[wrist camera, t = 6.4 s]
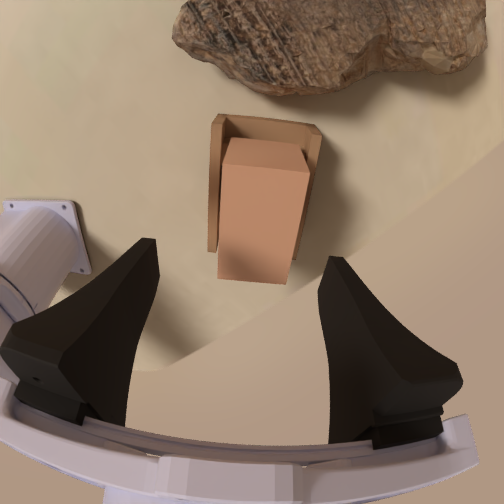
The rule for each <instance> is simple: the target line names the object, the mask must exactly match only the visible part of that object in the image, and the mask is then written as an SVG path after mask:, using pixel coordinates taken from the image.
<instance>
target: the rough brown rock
mask: <svg viewBox="0 0 504 504" xmlns="http://www.w3.org/2000/svg"><path fill="white" fill-rule="evenodd" d="M485 17H486V2H485V0H188V1H187V2H186V3H185V4H184V5H183V6H182V7H181V11H180V13H179V15H178V17H177V18H176V20H175V23H174V25H173V33H172V39H173V41H174V42H175V43H176V45H177V46H178V47H180V48H182V49H183V50H185V51H186V52H187V53H188V54H189V55H190V56H191V57H192V58H195V59H197V60H200V61H202V62H209V63H212V64H215V65H216V66H217V67H219V68H220V69H221V70H223V71H224V72H225V73H226V75H227V76H228V78H229V79H238V80H239V81H240V82H241V83H242V84H244V85H246V86H247V87H249V88H250V89H252V90H253V91H255V92H260V93H265V94H269V95H275V96H283V95H289V94H293V93H296V92H297V93H298V94H299V95H312V94H323V93H330V92H336V91H339V90H340V89H344V88H346V87H347V86H349V85H350V84H351V83H353V82H355V81H358V80H360V79H362V78H365V77H368V76H369V75H371V74H373V73H374V72H378V71H384V72H395V71H400V70H402V71H421V70H424V69H426V70H427V71H429V72H431V73H433V74H435V75H437V74H450V73H453V72H457V71H461V70H463V69H464V68H466V67H467V65H468V64H469V63H470V62H471V61H472V59H473V58H474V57H475V56H478V55H479V53H482V52H483V51H484V50H485V49H486V48H487V36H486V25H485Z"/></svg>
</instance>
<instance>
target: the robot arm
mask: <svg viewBox="0 0 504 504" xmlns="http://www.w3.org/2000/svg"><path fill="white" fill-rule="evenodd" d="M64 205H65V206H66V207H65V206H64ZM3 207H4V212H3V213H2V214H1V215H0V441H1V442H3V443H4V444H6V445H7V446H9V447H11V448H12V449H14V450H16V451H18V452H20V453H22V454H24V455H25V456H27V457H29V458H31V459H33V460H35V461H37V462H39V463H41V464H44V465H46V466H48V467H50V468H52V469H55V470H57V471H59V472H61V473H63V474H66V475H68V476H71V477H73V478H76V479H79V480H81V481H84V482H87V483H89V484H92V485H95V486H98V487H101V488H104V489H105V492H104V498H103V504H362V503H367V502H372V501H377V500H380V499H385V498H389V497H393V496H396V495H400V494H404V493H407V492H410V491H414V490H417V489H420V488H423V487H426V486H429V485H432V484H435V483H438V482H441V481H443V480H446V479H448V478H451V477H453V476H455V475H457V474H459V473H462V472H464V471H466V470H468V469H470V468H472V467H474V466H476V465H478V464H479V458H478V453H477V449H476V445H475V441H474V437H473V433H472V429H471V426H470V422H469V418H468V415H467V414H463V415H459V416H456V417H452V418H449V419H446V420H444V421H441V417H440V415H442V414H443V412H444V411H443V407H442V405H443V404H444V403H446V402H447V401H448V400H449V399H450V398H452V397H453V396H454V395H455V394H456V393H457V392H458V391H459V390H460V389H461V387H462V385H463V379H462V377H461V374H460V371H459V368H458V366H457V363H455V362H454V361H452V360H450V359H449V358H447V357H445V356H443V355H442V354H440V353H438V352H437V351H436V350H434V349H433V348H431V347H430V346H428V345H427V344H426V343H424V342H423V341H421V340H420V339H419V338H418V337H416V336H415V335H414V334H413V333H411V332H410V331H409V330H408V329H407V328H406V327H404V326H403V325H402V324H401V323H400V322H399V321H398V320H397V319H396V318H395V317H394V316H393V315H392V314H391V313H390V312H389V311H388V310H387V309H386V308H385V307H384V306H383V305H382V304H381V303H380V302H379V300H378V299H377V298H376V297H375V296H374V295H373V294H372V292H371V291H370V290H369V289H368V288H367V286H366V285H365V284H364V283H363V281H362V280H361V279H360V278H359V277H358V275H357V274H356V273H355V271H354V270H353V269H352V268H351V266H350V265H349V264H348V263H347V261H346V260H345V259H344V258H343V257H336V256H329V259H328V262H327V265H326V268H325V271H324V274H323V277H322V280H321V282H320V286H319V288H318V305H319V315H320V320H321V325H322V330H323V335H324V340H325V345H326V351H327V356H328V363H329V380H330V425H329V441H328V444H324V445H304V446H303V445H302V446H261V445H241V444H227V443H216V442H206V441H198V440H190V439H183V438H177V437H171V436H165V435H160V434H154V433H149V432H144V431H139V430H135V429H131V428H126V427H125V420H126V409H127V399H128V392H129V385H130V379H131V373H132V368H133V363H134V358H135V354H136V349H137V345H138V342H139V339H140V336H141V333H142V330H143V327H144V325H145V322H146V319H147V317H148V314H149V311H150V309H151V306H152V303H153V300H154V298H155V294H156V290H157V286H158V282H159V278H160V272H159V264H158V256H157V247H156V239H151V238H141V239H140V240H139V241H138V242H136V243H135V244H134V245H133V246H132V247H131V248H130V249H129V250H127V251H126V252H125V253H124V254H123V255H122V256H121V257H120V258H119V259H117V260H116V261H115V262H114V263H113V264H112V265H111V266H109V267H108V268H107V269H106V270H105V271H103V272H102V273H101V274H100V275H98V276H97V277H96V278H95V279H94V280H92V281H91V282H90V283H88V284H87V285H85V286H84V287H83V288H81V289H80V290H78V291H77V292H75V293H74V294H72V295H70V296H69V297H67V298H65V299H64V300H62V301H60V302H59V303H57V304H55V305H54V306H52V307H50V308H48V307H49V305H50V304H51V302H52V300H53V298H54V297H55V295H56V293H57V292H58V290H59V288H60V287H61V285H62V283H63V282H64V280H65V279H66V277H67V275H68V274H69V272H73V273H79V274H86V275H89V274H90V273H91V272H92V269H91V265H90V262H89V259H88V255H87V252H86V248H85V244H84V241H83V237H82V233H81V229H80V225H79V221H78V217H77V212H76V208H75V204H74V203H73V202H72V201H68V200H20V199H6V200H4V201H3ZM146 453H148V454H153V455H158V456H161V457H154V456H147V454H146ZM302 466H307V467H306V468H302Z"/></svg>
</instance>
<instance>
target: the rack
mask: <svg viewBox="0 0 504 504" xmlns="http://www.w3.org/2000/svg"><path fill="white" fill-rule="evenodd" d="M231 137H235V138H247V139H257V140H266V141H275V142H283V143H291V144H299V146H300V148H301V151H302V153H303V156H304V159H305V161H306V164H307V166H308V169H309V172H310V176H309V181H308V186H307V191H306V196H305V201H304V206H303V210H302V215H301V220H300V224H299V229H298V234H297V238H296V243H295V247H294V252H293V256H292V260H296V256H297V252H298V248H299V244H300V239H301V235H302V231H303V226H304V222H305V217H306V213H307V208H308V204H309V199H310V194H311V190H312V185H313V180H314V175H315V170H316V165H317V160H318V155H319V150H320V145H321V140H322V135H321V133H320V132H319V131H318V129H317V128H316V126H315V125H314V124H308V123H301V122H294V121H287V120H279V119H271V118H262V117H252V116H240V115H227V114H218V115H217V116H216V118H215V119H214V121H213V122H212V125H211V144H210V168H209V199H208V252H214V253H216V251H217V246H218V241H219V222H220V200H221V181H222V164H223V161H224V158H225V155H226V152H227V149H228V146H229V143H230V140H231Z"/></svg>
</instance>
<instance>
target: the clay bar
mask: <svg viewBox="0 0 504 504" xmlns="http://www.w3.org/2000/svg"><path fill="white" fill-rule="evenodd" d="M309 176H310V172H309V169H308V166H307V164H306V161H305V159H304V156H303V153H302V151H301V148H300V146H299V144H291V143H283V142H275V141H266V140H257V139H247V138H235V137H231V140H230V143H229V146H228V149H227V152H226V155H225V158H224V161H223V164H222V181H221V200H220V222H219V247H218V278H217V279H227V280H237V281H249V282H260V283H272V284H284V285H286V282H287V278H288V273H289V269H290V265H291V260H292V256H293V252H294V247H295V243H296V238H297V234H298V229H299V224H300V220H301V215H302V210H303V206H304V201H305V196H306V191H307V186H308V181H309Z"/></svg>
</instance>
